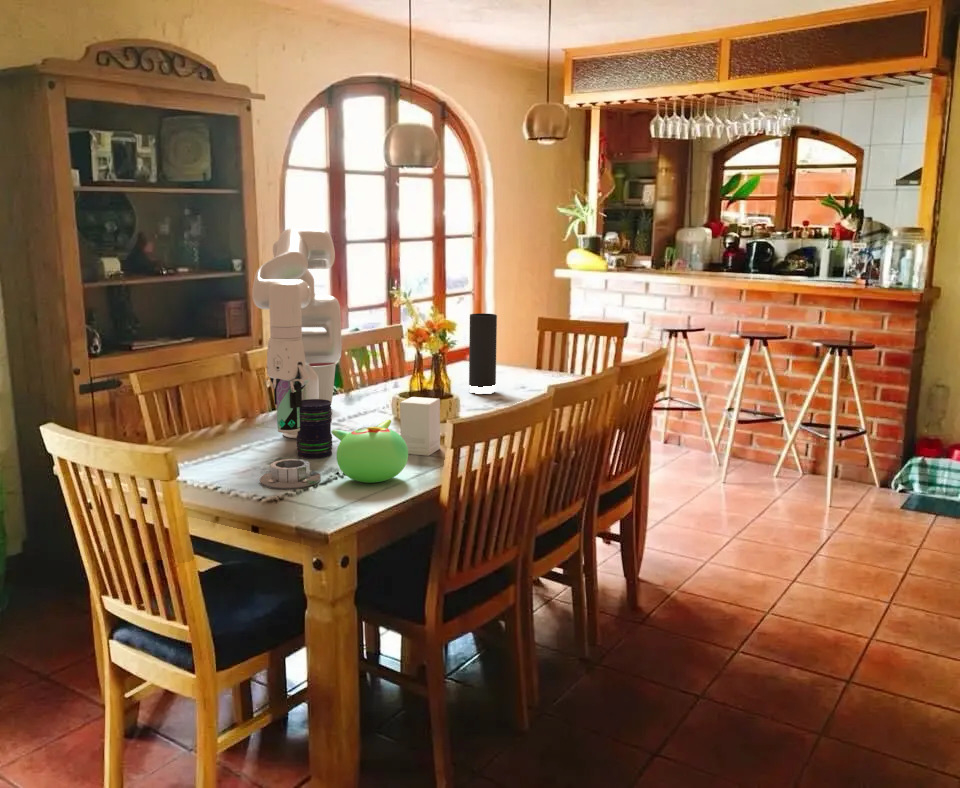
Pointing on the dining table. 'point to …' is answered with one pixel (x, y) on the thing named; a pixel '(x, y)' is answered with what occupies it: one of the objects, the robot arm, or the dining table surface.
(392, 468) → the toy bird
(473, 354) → the black tall cylinder
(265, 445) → the dining table surface
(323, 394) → the white bucket
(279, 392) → the spray can
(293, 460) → the collar
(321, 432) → the storage jar
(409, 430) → the supplement box
